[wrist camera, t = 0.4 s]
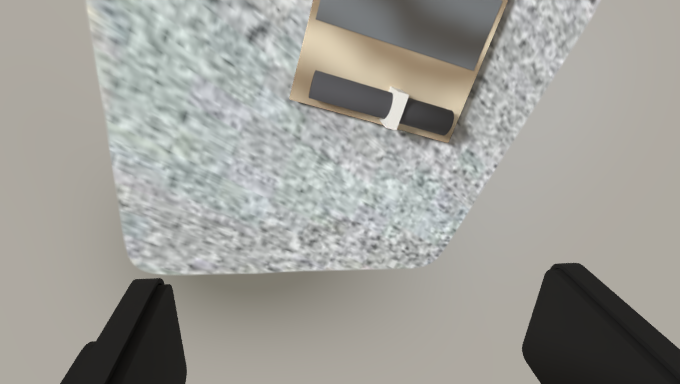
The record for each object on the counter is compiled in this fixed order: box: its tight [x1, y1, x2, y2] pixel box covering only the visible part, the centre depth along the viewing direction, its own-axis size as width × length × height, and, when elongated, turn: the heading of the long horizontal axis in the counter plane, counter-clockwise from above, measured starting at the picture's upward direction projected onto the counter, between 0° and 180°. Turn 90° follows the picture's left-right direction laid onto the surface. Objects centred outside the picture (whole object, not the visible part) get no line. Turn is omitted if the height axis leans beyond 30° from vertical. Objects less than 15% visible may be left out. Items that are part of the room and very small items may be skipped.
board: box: [290, 0, 508, 143], centre depth 34 cm, size 14×16×1 cm
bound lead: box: [309, 70, 454, 136], centre depth 34 cm, size 3×13×3 cm, turn 73°
